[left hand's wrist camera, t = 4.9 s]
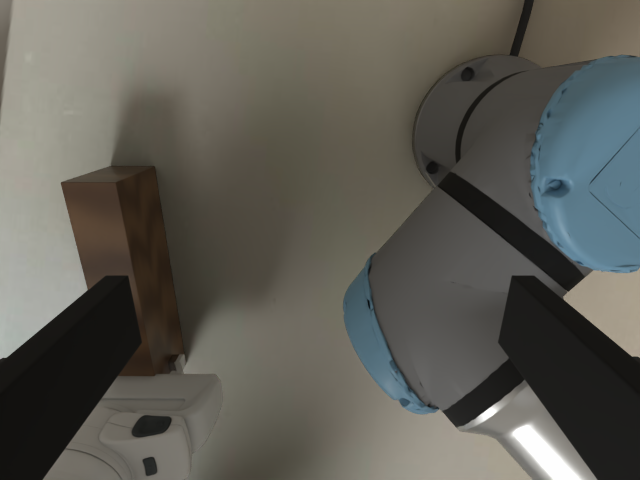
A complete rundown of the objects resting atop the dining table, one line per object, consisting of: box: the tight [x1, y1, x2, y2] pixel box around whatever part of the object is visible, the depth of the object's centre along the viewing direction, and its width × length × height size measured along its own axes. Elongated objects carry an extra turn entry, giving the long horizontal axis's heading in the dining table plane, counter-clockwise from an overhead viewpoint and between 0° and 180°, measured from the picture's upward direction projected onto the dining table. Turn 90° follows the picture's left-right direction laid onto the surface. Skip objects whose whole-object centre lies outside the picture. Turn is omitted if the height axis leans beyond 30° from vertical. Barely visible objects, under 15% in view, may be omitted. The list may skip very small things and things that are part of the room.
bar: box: [61, 166, 186, 376], centre depth 43 cm, size 28×5×9 cm, turn 0°
